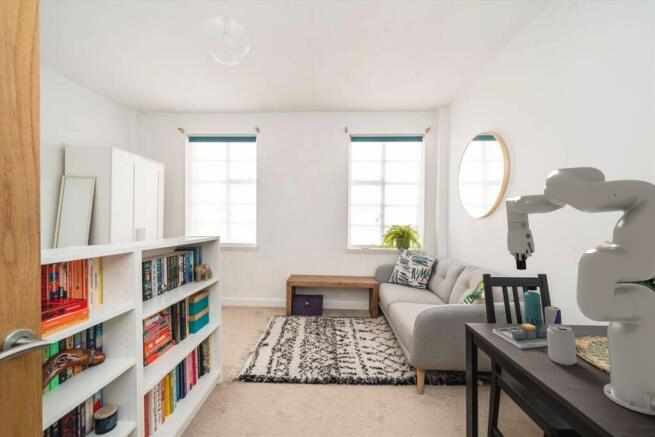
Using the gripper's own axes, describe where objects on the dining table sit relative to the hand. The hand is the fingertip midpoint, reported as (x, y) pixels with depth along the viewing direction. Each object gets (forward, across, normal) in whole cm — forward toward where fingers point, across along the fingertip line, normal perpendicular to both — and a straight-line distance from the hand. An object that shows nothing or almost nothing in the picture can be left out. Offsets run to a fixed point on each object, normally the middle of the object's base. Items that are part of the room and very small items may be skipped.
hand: (521, 269), depth 120 cm
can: (+29, -20, +4) cm, 36 cm away
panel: (+28, -1, +3) cm, 29 cm away
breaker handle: (+27, -6, +3) cm, 27 cm away
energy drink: (+29, -3, -10) cm, 30 cm away
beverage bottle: (+28, +6, -8) cm, 30 cm away
